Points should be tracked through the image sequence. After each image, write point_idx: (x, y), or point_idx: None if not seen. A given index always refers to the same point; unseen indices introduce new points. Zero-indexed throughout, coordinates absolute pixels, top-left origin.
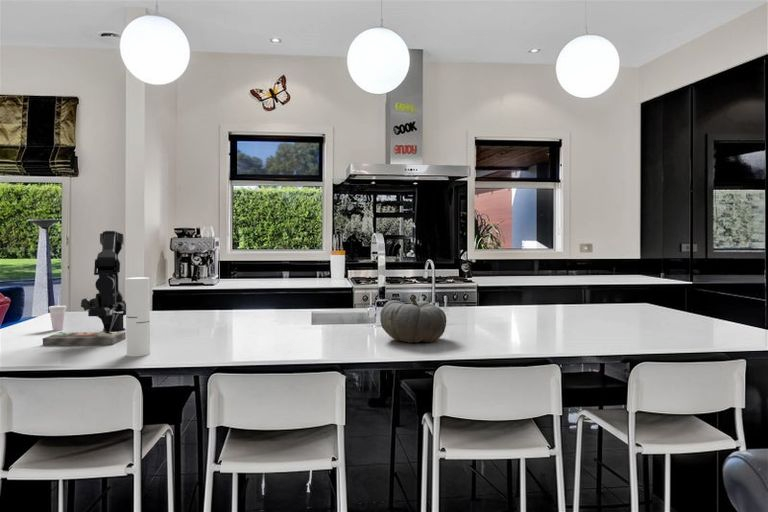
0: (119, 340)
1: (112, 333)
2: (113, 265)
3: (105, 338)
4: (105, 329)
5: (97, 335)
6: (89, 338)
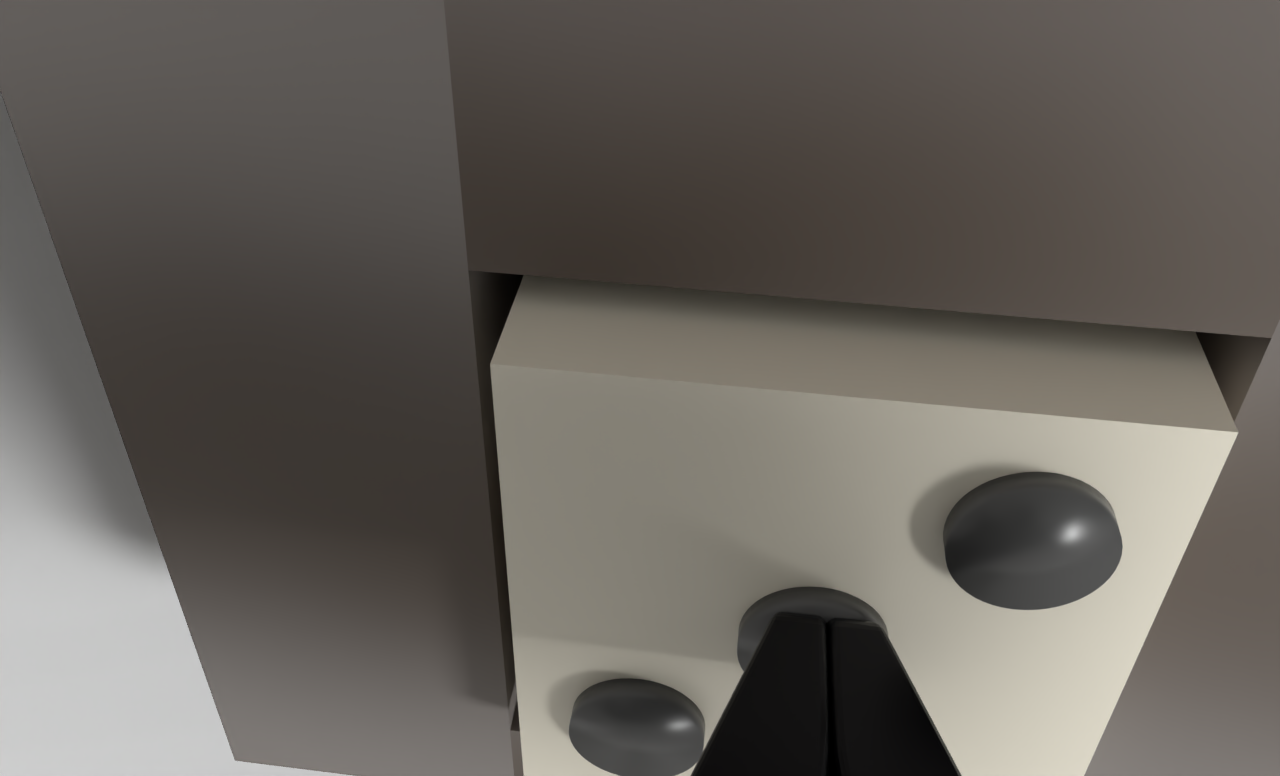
0: None
1: None
2: None
3: (193, 599)
4: (708, 743)
5: (758, 218)
6: (7, 80)
